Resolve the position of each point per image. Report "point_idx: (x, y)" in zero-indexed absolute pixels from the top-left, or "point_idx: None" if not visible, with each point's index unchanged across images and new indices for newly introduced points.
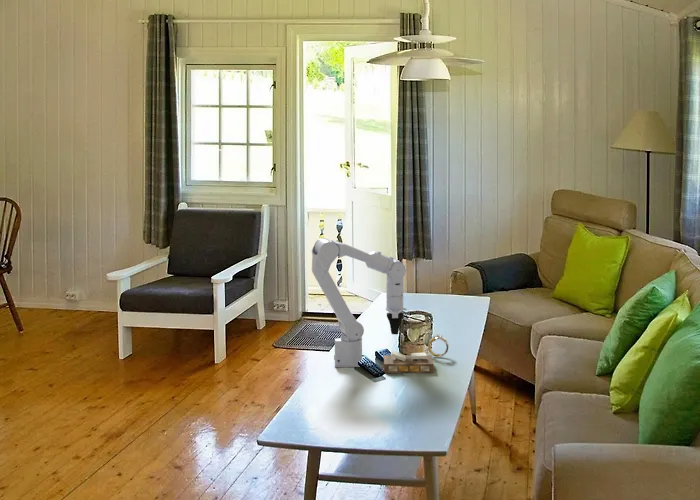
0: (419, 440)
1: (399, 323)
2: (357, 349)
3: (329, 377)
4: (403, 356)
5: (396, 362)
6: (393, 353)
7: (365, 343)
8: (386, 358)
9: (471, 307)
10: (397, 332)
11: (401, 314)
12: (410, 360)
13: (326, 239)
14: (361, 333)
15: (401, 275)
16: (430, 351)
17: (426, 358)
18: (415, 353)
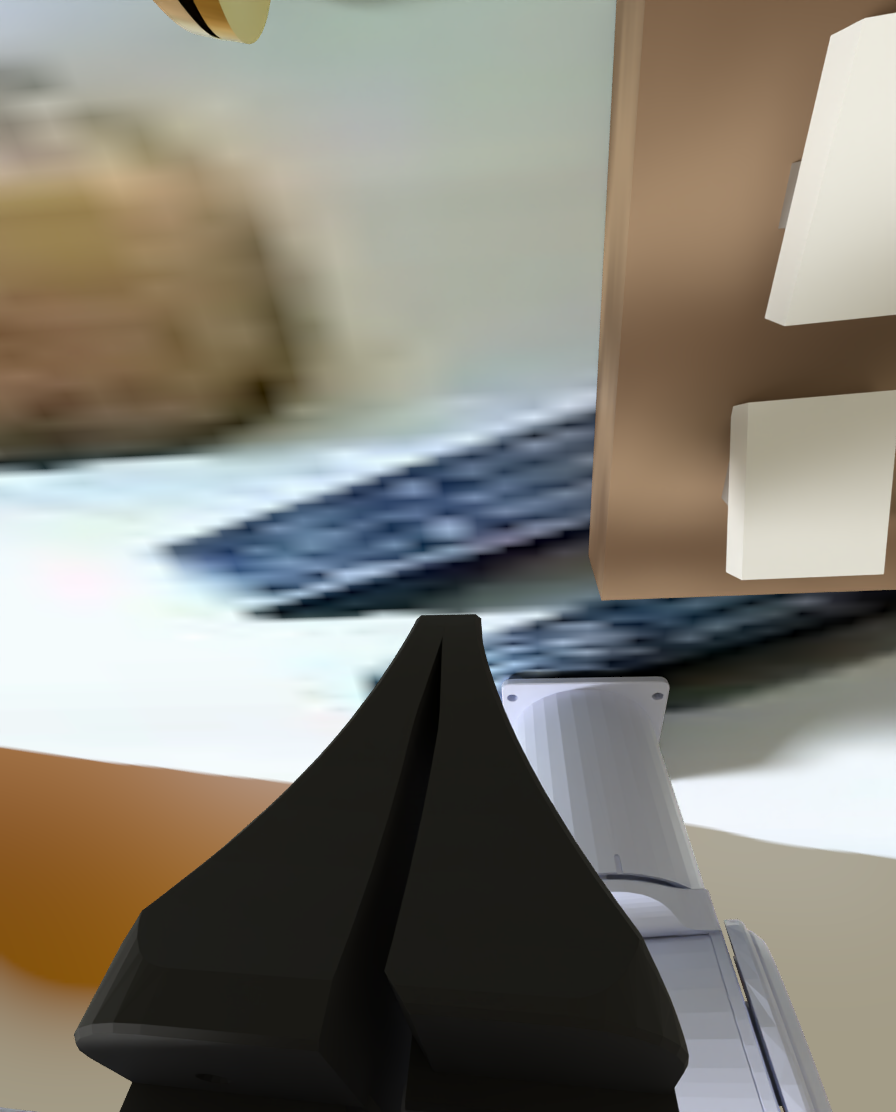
0: None
1: (534, 773)
2: (676, 814)
3: (837, 800)
4: (827, 426)
5: (893, 484)
6: (861, 559)
7: (105, 674)
8: (711, 578)
9: None
10: (480, 639)
11: (343, 1011)
12: (865, 320)
13: None
14: (784, 988)
15: None
16: (257, 12)
17: (835, 31)
18: (834, 251)
